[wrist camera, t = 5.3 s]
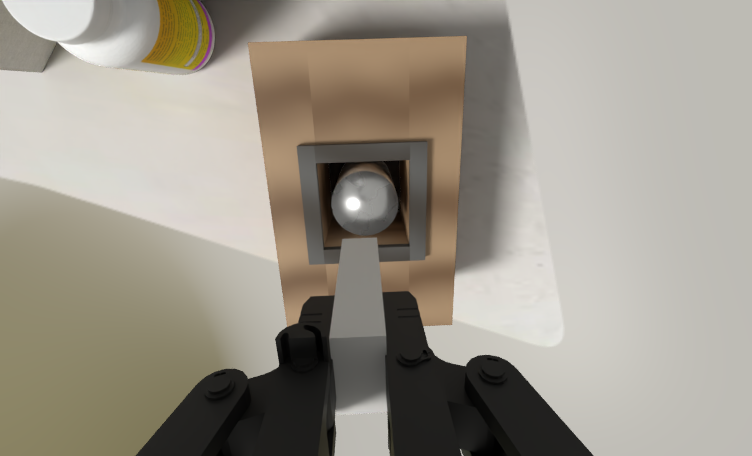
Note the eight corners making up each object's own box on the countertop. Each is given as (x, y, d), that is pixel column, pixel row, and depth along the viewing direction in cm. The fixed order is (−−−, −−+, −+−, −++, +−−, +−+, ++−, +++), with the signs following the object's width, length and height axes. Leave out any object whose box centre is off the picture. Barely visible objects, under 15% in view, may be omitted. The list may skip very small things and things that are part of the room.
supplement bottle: (203, -22, 28) (83, -110, 16) (227, 69, 30) (137, 52, 18) (121, -9, 28) (-60, -86, 16) (151, 81, 31) (12, 71, 19)
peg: (337, 155, 33) (328, 172, 26) (390, 153, 33) (398, 170, 26) (340, 206, 35) (333, 236, 27) (391, 204, 35) (398, 234, 28)
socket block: (276, 55, 30) (244, 41, 22) (441, 50, 30) (469, 34, 22) (303, 285, 38) (286, 336, 30) (434, 279, 38) (453, 328, 30)
